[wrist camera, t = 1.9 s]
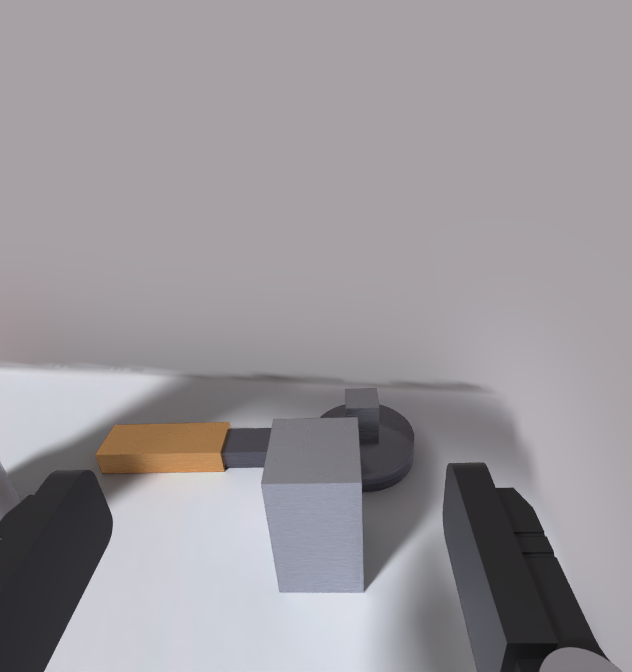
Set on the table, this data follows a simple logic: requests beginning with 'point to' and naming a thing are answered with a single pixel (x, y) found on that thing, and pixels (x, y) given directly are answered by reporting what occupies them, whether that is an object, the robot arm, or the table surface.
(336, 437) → the brushed metal block
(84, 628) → the table surface
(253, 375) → the table surface
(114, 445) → the ratchet
